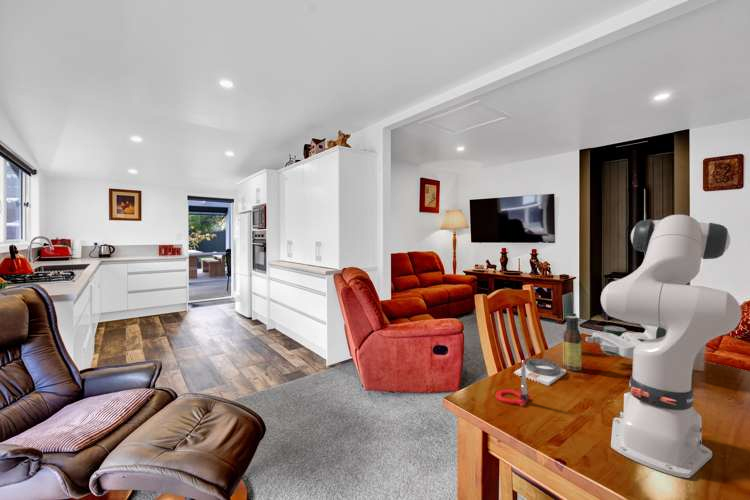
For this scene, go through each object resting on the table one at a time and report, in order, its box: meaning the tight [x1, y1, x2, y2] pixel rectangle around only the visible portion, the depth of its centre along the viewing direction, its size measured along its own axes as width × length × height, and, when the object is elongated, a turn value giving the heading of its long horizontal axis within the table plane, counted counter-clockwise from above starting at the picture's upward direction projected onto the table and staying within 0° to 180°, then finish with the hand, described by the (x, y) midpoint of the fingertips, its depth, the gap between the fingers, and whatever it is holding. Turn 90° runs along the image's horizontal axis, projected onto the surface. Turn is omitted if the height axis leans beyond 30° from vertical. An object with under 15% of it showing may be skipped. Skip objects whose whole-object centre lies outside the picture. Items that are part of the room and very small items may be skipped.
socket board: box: [513, 358, 567, 386], centre depth 121 cm, size 16×12×3 cm
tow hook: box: [495, 359, 531, 407], centre depth 103 cm, size 8×13×9 cm
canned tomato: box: [602, 325, 627, 357], centre depth 142 cm, size 8×8×11 cm
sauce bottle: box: [562, 315, 583, 372], centre depth 126 cm, size 6×6×20 cm
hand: (593, 343), depth 125 cm, fingers open, 8 cm apart
